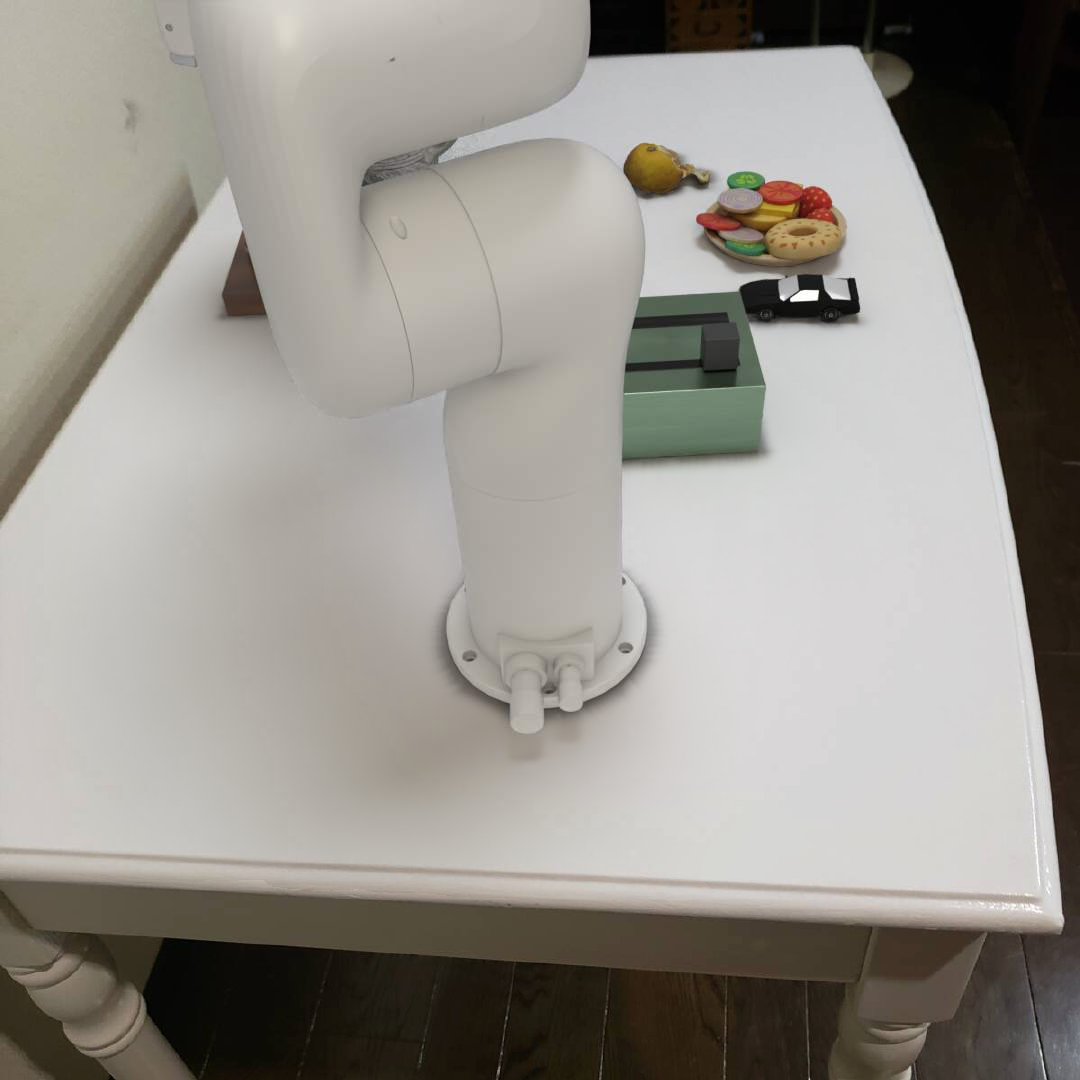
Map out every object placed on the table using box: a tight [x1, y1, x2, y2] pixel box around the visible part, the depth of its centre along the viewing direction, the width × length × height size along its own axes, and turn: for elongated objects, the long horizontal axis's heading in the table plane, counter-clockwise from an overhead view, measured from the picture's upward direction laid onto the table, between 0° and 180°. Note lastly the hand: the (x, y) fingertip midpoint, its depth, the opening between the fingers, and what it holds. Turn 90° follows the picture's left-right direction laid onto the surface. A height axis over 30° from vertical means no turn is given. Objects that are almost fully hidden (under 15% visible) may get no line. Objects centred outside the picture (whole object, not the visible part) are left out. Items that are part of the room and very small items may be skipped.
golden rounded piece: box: [622, 142, 711, 195], centre depth 110 cm, size 8×8×4 cm
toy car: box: [738, 273, 861, 323], centre depth 93 cm, size 10×4×3 cm, turn 85°
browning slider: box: [700, 322, 740, 371], centre depth 79 cm, size 2×2×3 cm
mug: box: [361, 138, 459, 187], centre depth 110 cm, size 10×12×10 cm
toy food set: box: [695, 170, 848, 267], centre depth 102 cm, size 13×13×3 cm
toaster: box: [622, 290, 767, 460], centre depth 84 cm, size 12×12×6 cm
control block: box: [221, 228, 267, 317], centre depth 101 cm, size 12×10×4 cm
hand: (257, 130), depth 93 cm, fingers closed
